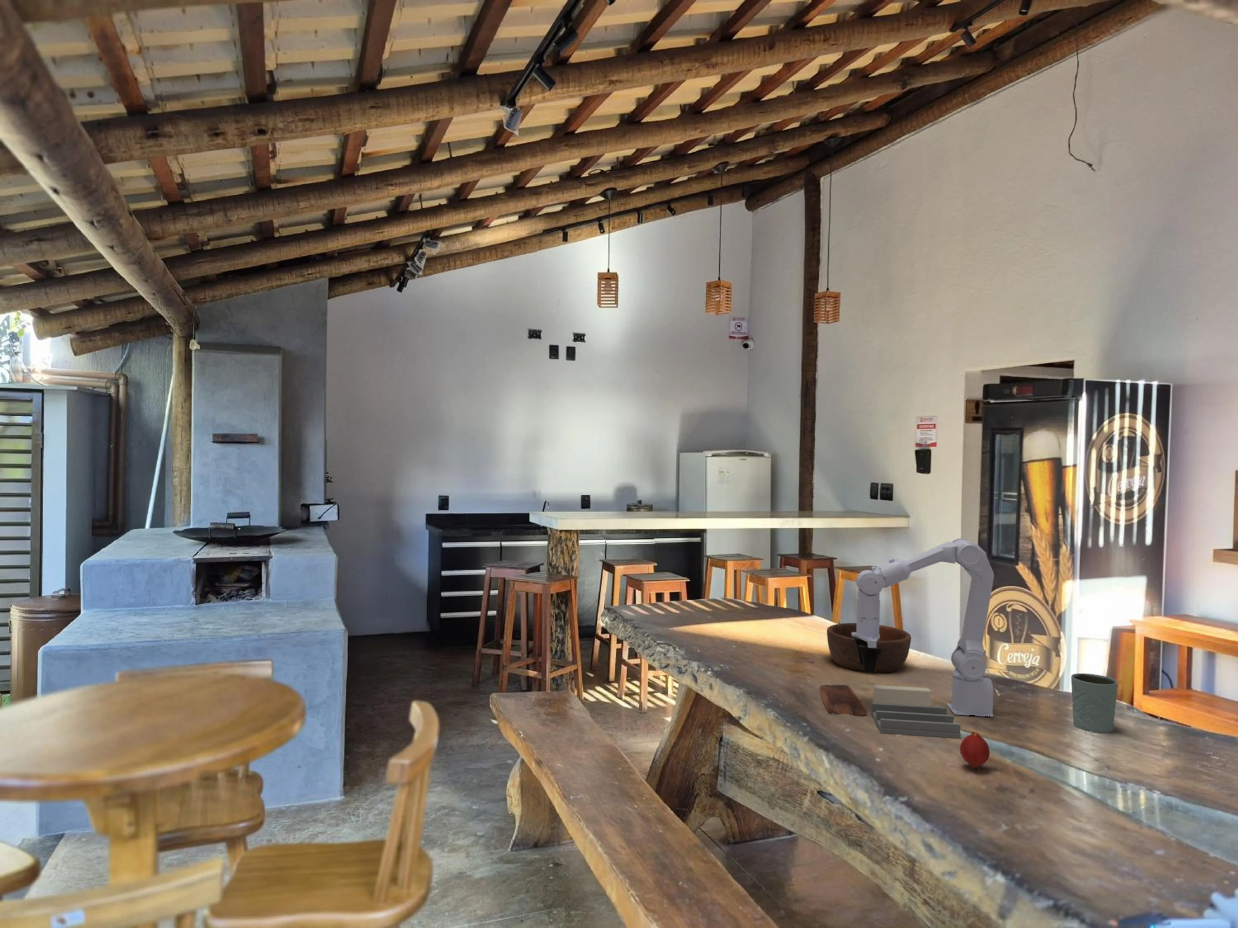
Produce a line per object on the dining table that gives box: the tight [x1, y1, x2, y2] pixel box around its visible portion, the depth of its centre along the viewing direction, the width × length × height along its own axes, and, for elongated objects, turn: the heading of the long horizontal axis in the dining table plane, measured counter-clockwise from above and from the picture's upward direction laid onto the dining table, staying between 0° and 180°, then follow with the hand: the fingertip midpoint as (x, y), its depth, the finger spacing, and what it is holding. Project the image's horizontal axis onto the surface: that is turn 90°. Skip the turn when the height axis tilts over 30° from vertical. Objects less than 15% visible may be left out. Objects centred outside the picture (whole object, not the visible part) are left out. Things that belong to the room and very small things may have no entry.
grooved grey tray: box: [870, 702, 962, 739], centre depth 204 cm, size 18×14×3 cm
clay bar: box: [872, 684, 932, 706], centre depth 218 cm, size 14×3×5 cm, turn 83°
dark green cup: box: [1070, 672, 1119, 734], centre depth 206 cm, size 10×10×12 cm
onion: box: [959, 730, 991, 769], centre depth 178 cm, size 6×6×8 cm
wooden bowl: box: [826, 622, 912, 673], centre depth 259 cm, size 25×25×10 cm
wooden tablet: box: [818, 684, 867, 717], centre depth 223 cm, size 26×2×10 cm
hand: (866, 668), depth 219 cm, fingers open, 7 cm apart
